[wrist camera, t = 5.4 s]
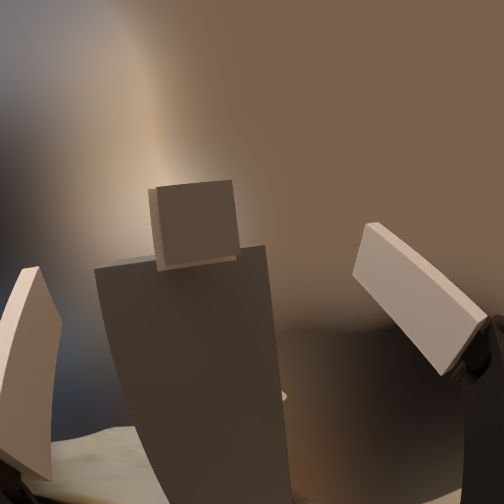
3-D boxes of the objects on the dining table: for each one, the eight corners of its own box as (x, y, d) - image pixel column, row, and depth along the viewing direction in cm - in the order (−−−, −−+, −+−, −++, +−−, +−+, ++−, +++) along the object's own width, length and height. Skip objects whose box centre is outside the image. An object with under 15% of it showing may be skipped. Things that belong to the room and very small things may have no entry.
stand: (187, 551, 18) (76, 272, 16) (172, 479, 32) (110, 260, 30) (304, 521, 23) (283, 243, 21) (264, 459, 36) (233, 243, 34)
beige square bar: (157, 276, 9) (146, 178, 8) (158, 253, 35) (155, 228, 35) (251, 262, 10) (239, 170, 9) (182, 249, 36) (179, 225, 36)
